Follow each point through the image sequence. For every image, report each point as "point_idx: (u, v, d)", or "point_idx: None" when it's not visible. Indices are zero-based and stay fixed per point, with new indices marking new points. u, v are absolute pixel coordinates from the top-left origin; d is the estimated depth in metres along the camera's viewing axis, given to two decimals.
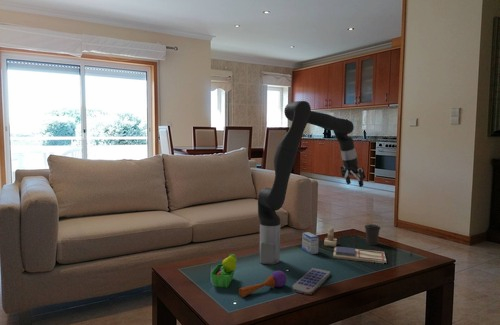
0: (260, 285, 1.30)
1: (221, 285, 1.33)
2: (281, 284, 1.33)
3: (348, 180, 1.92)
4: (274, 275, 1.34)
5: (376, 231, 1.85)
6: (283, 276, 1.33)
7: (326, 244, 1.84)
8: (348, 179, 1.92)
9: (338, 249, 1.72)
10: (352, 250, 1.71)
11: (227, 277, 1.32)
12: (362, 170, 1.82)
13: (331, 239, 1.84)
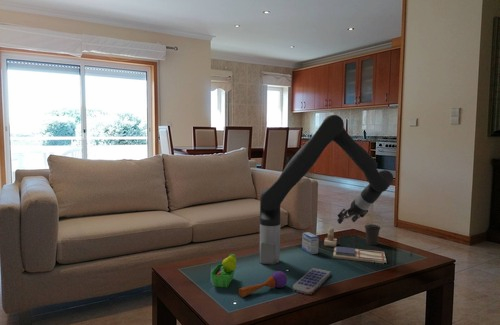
0: (260, 285, 1.30)
1: (221, 285, 1.33)
2: (281, 285, 1.32)
3: (354, 218, 1.74)
4: (274, 275, 1.33)
5: (376, 231, 1.85)
6: (283, 277, 1.33)
7: (326, 244, 1.84)
8: (354, 217, 1.74)
9: (338, 249, 1.72)
10: (352, 250, 1.71)
11: (227, 277, 1.32)
12: (343, 212, 1.65)
13: (331, 239, 1.84)
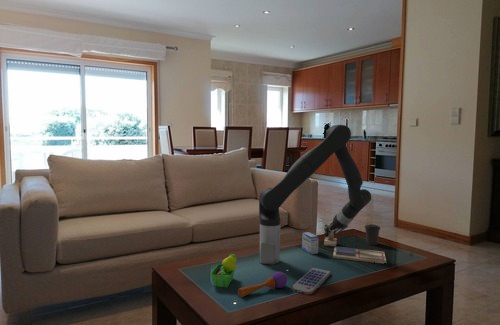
0: (259, 286, 1.29)
1: (221, 285, 1.33)
2: (281, 285, 1.32)
3: None
4: (274, 276, 1.33)
5: (376, 231, 1.85)
6: (283, 277, 1.32)
7: (326, 244, 1.84)
8: None
9: (338, 249, 1.72)
10: (352, 250, 1.71)
11: (227, 277, 1.32)
12: (325, 228, 1.79)
13: (331, 239, 1.84)
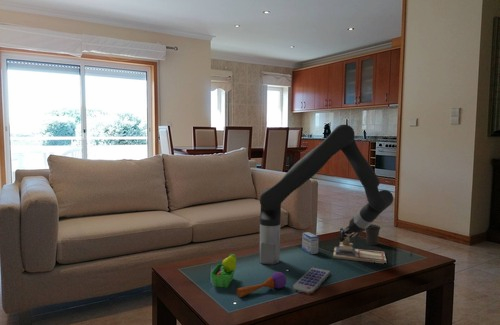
0: (258, 286, 1.29)
1: (221, 285, 1.33)
2: (280, 285, 1.31)
3: None
4: (273, 276, 1.33)
5: (376, 231, 1.85)
6: (282, 277, 1.32)
7: (341, 249, 1.69)
8: None
9: (338, 249, 1.72)
10: (352, 250, 1.71)
11: (227, 277, 1.32)
12: (341, 232, 1.64)
13: (347, 244, 1.69)
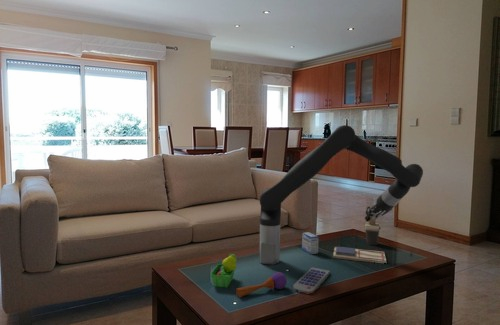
0: (258, 286, 1.29)
1: (221, 285, 1.33)
2: (280, 286, 1.31)
3: None
4: (273, 277, 1.32)
5: None
6: (282, 278, 1.31)
7: (368, 229, 1.64)
8: None
9: (338, 249, 1.72)
10: (352, 250, 1.71)
11: (227, 277, 1.32)
12: (368, 211, 1.60)
13: (373, 223, 1.65)
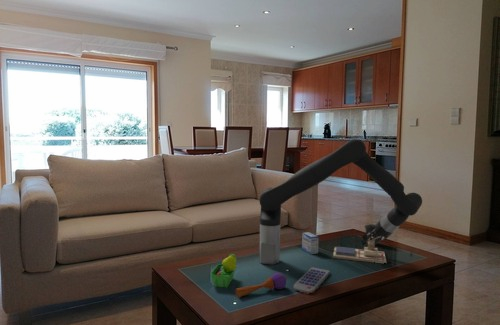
0: (258, 286, 1.29)
1: (221, 285, 1.33)
2: (280, 286, 1.31)
3: (377, 239, 1.69)
4: (273, 277, 1.32)
5: None
6: (282, 278, 1.31)
7: (367, 254, 1.65)
8: (377, 239, 1.69)
9: (338, 249, 1.72)
10: (352, 250, 1.71)
11: (227, 277, 1.32)
12: (368, 235, 1.60)
13: (372, 249, 1.66)
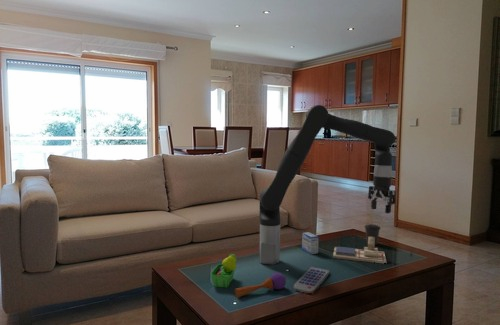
0: (257, 286, 1.29)
1: (221, 285, 1.33)
2: (279, 287, 1.31)
3: (374, 204, 1.63)
4: (272, 277, 1.32)
5: (376, 231, 1.85)
6: (281, 279, 1.31)
7: (367, 254, 1.65)
8: (374, 203, 1.63)
9: (338, 249, 1.72)
10: (352, 250, 1.71)
11: (227, 277, 1.32)
12: (394, 193, 1.52)
13: (372, 249, 1.66)
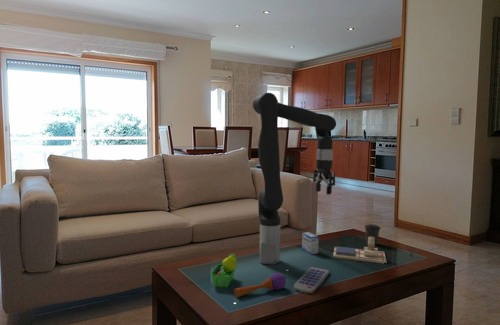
0: (256, 287, 1.28)
1: (221, 285, 1.33)
2: (279, 287, 1.30)
3: (318, 187, 1.71)
4: (272, 277, 1.32)
5: (376, 231, 1.85)
6: (281, 279, 1.31)
7: (367, 254, 1.65)
8: (318, 186, 1.72)
9: (338, 249, 1.72)
10: (352, 250, 1.71)
11: (227, 277, 1.32)
12: (333, 175, 1.61)
13: (372, 249, 1.66)
